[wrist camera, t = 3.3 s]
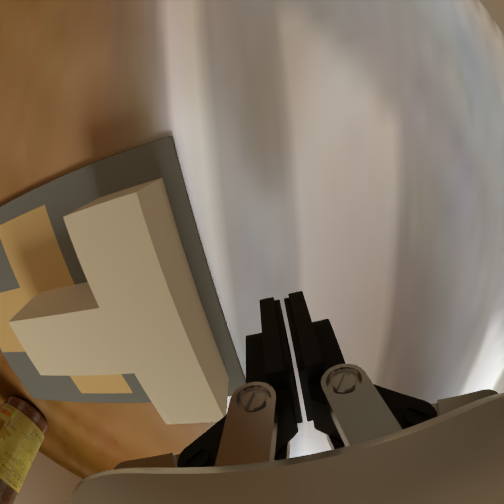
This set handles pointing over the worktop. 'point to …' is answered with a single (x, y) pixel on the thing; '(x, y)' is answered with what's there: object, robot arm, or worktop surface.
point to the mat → (70, 271)
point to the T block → (130, 309)
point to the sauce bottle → (18, 444)
